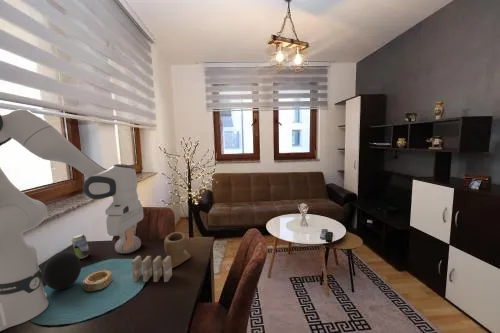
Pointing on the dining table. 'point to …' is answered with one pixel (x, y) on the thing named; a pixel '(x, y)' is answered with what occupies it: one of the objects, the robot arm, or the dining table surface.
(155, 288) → the dining table surface
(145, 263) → the domino
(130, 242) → the domino
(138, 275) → the domino
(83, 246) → the beverage can
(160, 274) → the domino
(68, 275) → the decorative egg
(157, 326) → the dining table surface
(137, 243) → the sea urchin shell
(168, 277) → the domino
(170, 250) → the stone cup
